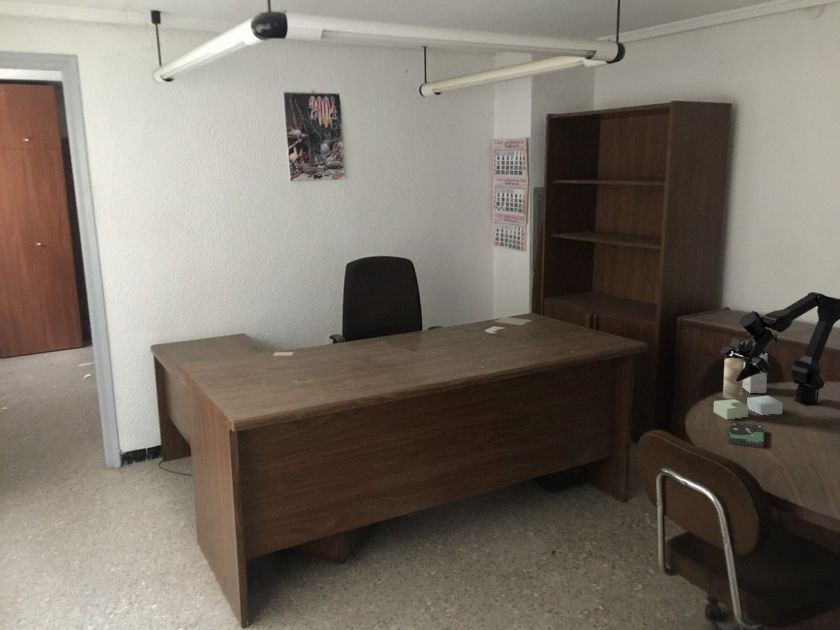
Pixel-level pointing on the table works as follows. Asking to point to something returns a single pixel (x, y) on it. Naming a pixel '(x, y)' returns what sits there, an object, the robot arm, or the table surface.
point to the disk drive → (746, 434)
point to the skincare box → (756, 381)
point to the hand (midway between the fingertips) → (730, 378)
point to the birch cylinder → (732, 378)
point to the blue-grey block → (765, 405)
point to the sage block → (730, 409)
